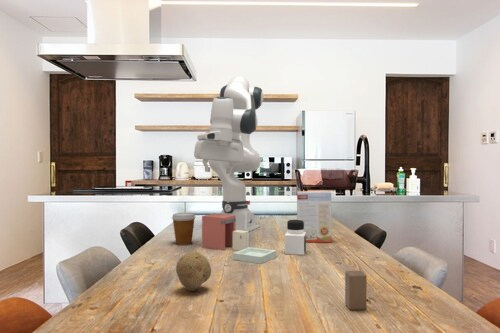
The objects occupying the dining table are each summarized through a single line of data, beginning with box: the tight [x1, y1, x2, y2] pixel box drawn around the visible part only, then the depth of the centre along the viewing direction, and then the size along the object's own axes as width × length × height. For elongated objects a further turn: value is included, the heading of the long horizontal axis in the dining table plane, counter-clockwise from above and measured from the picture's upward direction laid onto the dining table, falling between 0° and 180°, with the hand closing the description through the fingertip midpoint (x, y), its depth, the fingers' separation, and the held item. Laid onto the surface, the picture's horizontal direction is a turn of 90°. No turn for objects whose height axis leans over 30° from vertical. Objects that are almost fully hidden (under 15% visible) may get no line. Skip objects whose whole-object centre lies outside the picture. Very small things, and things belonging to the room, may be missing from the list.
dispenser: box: [201, 213, 236, 251], centre depth 160 cm, size 9×10×12 cm
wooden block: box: [344, 270, 368, 311], centre depth 94 cm, size 4×4×8 cm
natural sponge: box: [175, 251, 212, 292], centre depth 107 cm, size 9×9×10 cm
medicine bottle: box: [284, 218, 307, 256], centre depth 150 cm, size 7×7×12 cm
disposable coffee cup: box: [171, 212, 196, 246], centre depth 167 cm, size 10×10×12 cm
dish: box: [232, 246, 277, 265], centre depth 141 cm, size 11×11×2 cm
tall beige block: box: [232, 230, 250, 252], centre depth 155 cm, size 4×5×7 cm
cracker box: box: [296, 190, 333, 243], centre depth 171 cm, size 14×6×21 cm, turn 84°
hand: (218, 172), depth 159 cm, fingers open, 8 cm apart
